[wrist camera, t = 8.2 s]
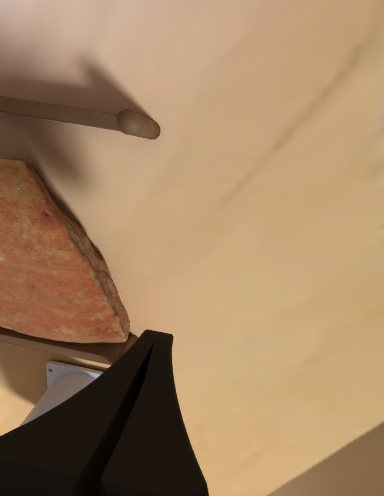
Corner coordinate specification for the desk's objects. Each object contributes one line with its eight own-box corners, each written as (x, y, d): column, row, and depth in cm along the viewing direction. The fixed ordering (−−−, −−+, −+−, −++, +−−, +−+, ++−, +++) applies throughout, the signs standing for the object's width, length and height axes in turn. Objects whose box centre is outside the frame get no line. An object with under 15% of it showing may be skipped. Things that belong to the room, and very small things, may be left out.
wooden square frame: (138, 346, 25) (119, 390, 20) (-52, 306, 26) (-112, 339, 21) (161, 122, 18) (139, 111, 13) (-102, 79, 19) (-208, 55, 14)
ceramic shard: (122, 190, 15) (123, 359, 22) (141, 167, 21) (137, 307, 28) (-150, 157, 14) (-56, 344, 21) (-52, 141, 20) (-4, 294, 27)
